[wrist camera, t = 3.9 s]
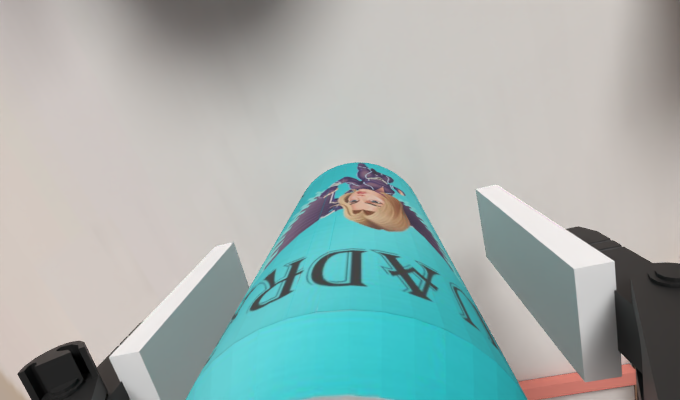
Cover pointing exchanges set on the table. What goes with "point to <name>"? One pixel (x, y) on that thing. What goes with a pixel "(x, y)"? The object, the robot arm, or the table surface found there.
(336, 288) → the beverage can
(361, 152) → the table surface
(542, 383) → the stick
